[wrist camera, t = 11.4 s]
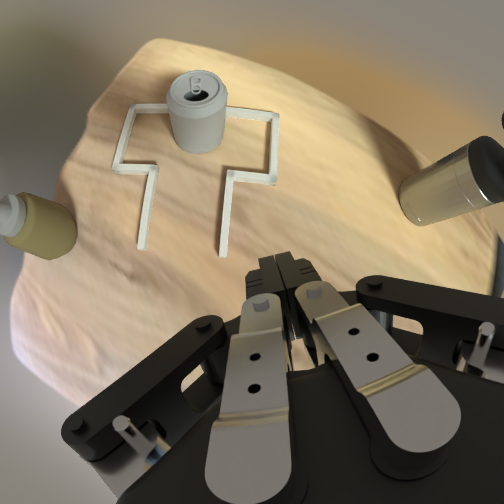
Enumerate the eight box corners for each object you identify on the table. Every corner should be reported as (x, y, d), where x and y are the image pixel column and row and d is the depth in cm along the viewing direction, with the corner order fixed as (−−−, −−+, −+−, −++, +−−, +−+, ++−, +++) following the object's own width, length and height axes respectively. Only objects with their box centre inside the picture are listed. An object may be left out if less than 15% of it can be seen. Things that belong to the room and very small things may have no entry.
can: (174, 158, 38) (161, 113, 26) (175, 118, 39) (166, 67, 27) (225, 155, 39) (230, 108, 27) (222, 115, 40) (227, 64, 28)
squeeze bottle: (39, 222, 34) (-35, 190, 16) (78, 201, 35) (9, 153, 17) (50, 270, 33) (-31, 259, 16) (89, 250, 35) (13, 226, 17)
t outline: (270, 261, 38) (272, 260, 37) (101, 246, 35) (97, 245, 34) (277, 118, 41) (279, 113, 39) (132, 109, 38) (130, 104, 36)
